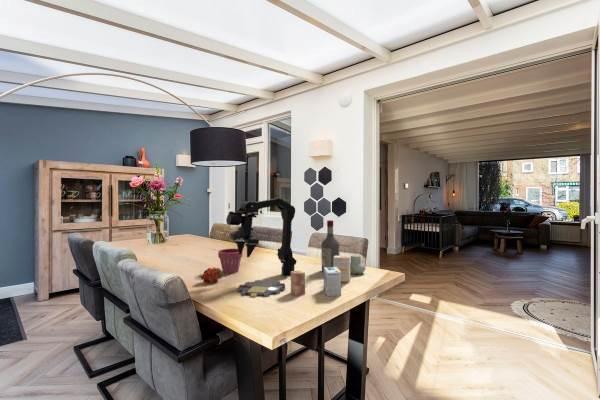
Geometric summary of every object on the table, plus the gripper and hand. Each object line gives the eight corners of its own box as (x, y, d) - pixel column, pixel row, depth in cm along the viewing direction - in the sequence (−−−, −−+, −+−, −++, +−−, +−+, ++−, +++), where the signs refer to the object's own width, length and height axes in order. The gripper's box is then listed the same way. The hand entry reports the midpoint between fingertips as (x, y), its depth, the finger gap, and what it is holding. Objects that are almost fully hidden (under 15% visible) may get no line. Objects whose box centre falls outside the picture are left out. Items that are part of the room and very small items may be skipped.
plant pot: (247, 270, 187) (247, 249, 187) (231, 276, 175) (230, 253, 175) (230, 267, 195) (230, 247, 194) (213, 272, 183) (213, 251, 182)
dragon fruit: (224, 283, 167) (202, 290, 160) (218, 271, 172) (197, 278, 165) (226, 273, 162) (203, 280, 155) (220, 261, 167) (197, 268, 160)
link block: (300, 291, 148) (300, 270, 147) (305, 294, 143) (304, 272, 143) (290, 292, 145) (290, 271, 145) (295, 295, 141) (295, 273, 141)
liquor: (328, 274, 177) (327, 221, 176) (320, 270, 185) (319, 220, 184) (341, 271, 181) (341, 220, 180) (332, 268, 189) (332, 219, 189)
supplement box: (350, 280, 164) (350, 255, 164) (349, 283, 159) (348, 257, 159) (335, 279, 167) (335, 255, 166) (333, 281, 162) (333, 256, 162)
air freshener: (367, 273, 177) (367, 256, 176) (357, 276, 172) (357, 258, 172) (354, 269, 186) (354, 253, 186) (344, 272, 181) (344, 255, 181)
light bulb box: (323, 289, 150) (323, 266, 150) (337, 288, 151) (336, 266, 151) (327, 296, 140) (326, 272, 139) (341, 295, 140) (341, 272, 140)
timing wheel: (248, 281, 165) (248, 278, 165) (290, 283, 160) (290, 280, 160) (229, 295, 142) (229, 292, 142) (278, 298, 138) (278, 295, 138)
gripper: (224, 223, 164) (222, 253, 163) (240, 226, 149) (237, 259, 148) (243, 224, 170) (241, 253, 169) (260, 227, 155) (258, 258, 154)
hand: (244, 255), depth 160 cm, fingers open, 9 cm apart
